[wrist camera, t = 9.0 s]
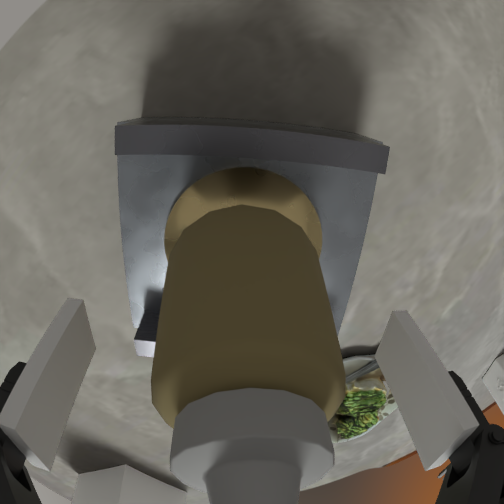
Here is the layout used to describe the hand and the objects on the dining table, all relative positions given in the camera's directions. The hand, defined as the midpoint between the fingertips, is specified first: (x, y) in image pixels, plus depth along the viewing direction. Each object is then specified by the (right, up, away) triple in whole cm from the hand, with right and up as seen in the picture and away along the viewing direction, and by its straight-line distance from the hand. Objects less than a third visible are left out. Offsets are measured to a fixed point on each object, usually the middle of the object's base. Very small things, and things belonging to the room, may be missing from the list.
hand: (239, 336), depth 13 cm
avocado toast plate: (+12, -15, +24) cm, 31 cm away
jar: (+42, -15, +25) cm, 51 cm away
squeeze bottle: (0, +4, +8) cm, 8 cm away
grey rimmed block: (0, +6, +12) cm, 14 cm away
